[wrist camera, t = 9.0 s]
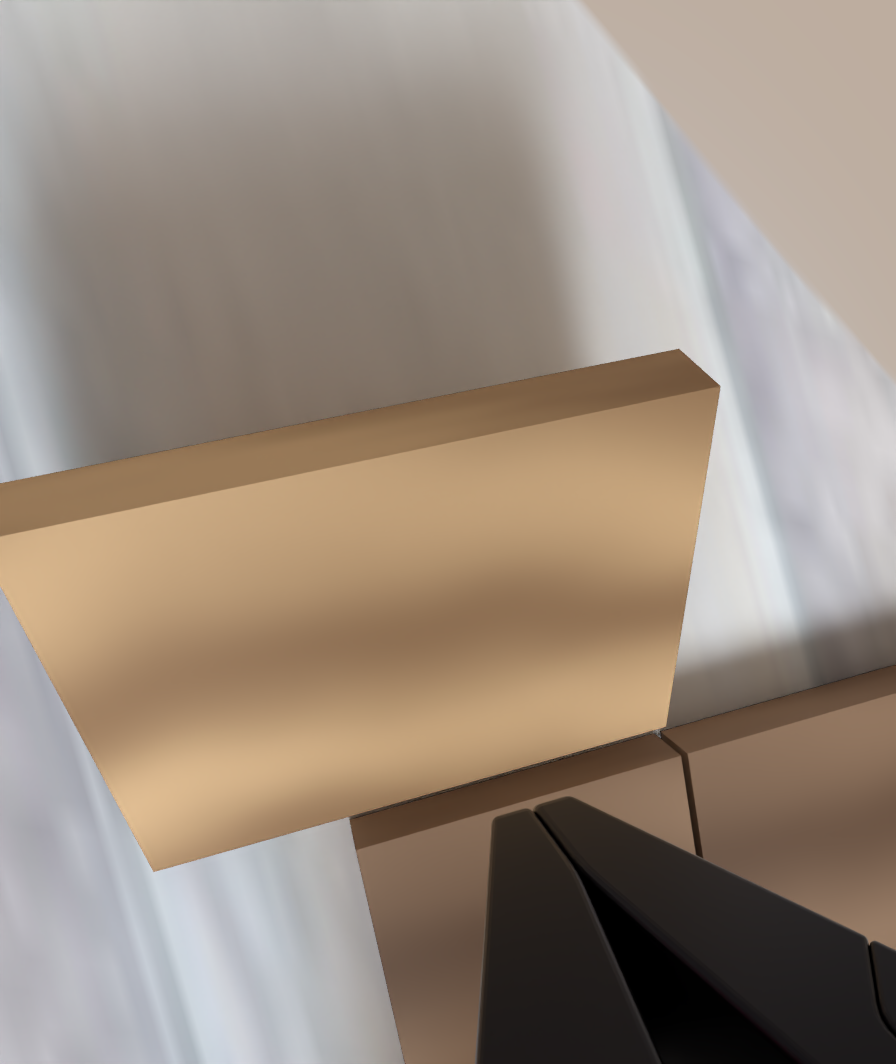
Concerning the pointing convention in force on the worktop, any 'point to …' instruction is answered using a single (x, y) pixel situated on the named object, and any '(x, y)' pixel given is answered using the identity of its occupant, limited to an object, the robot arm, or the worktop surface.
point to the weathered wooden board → (662, 810)
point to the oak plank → (367, 598)
